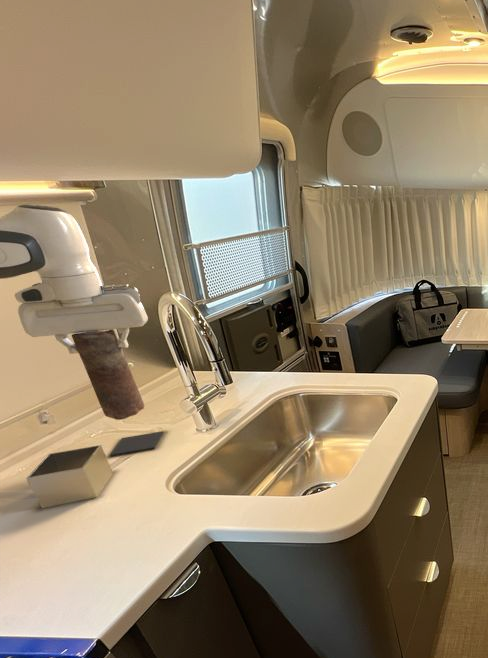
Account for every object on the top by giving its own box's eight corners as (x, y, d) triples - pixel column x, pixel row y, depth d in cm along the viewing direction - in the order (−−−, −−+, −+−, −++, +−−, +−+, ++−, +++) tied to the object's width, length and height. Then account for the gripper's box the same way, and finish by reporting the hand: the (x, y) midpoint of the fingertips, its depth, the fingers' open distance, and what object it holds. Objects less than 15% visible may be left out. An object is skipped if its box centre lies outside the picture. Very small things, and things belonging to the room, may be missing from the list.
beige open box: (42, 508, 94) (26, 478, 91) (63, 481, 102) (48, 453, 99) (96, 497, 97) (83, 467, 94) (113, 472, 105) (101, 444, 102)
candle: (96, 417, 111) (62, 334, 102) (130, 404, 117) (100, 324, 109) (120, 422, 108) (87, 337, 100) (153, 409, 115) (124, 328, 107)
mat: (111, 456, 111) (110, 454, 111) (122, 439, 118) (122, 438, 118) (154, 448, 114) (154, 446, 114) (163, 432, 121) (163, 431, 121)
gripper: (139, 280, 107) (160, 339, 113) (19, 289, 100) (47, 352, 105) (131, 285, 102) (153, 347, 107) (3, 295, 94) (34, 361, 100)
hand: (100, 350), depth 106 cm, fingers closed on candle, 7 cm apart
